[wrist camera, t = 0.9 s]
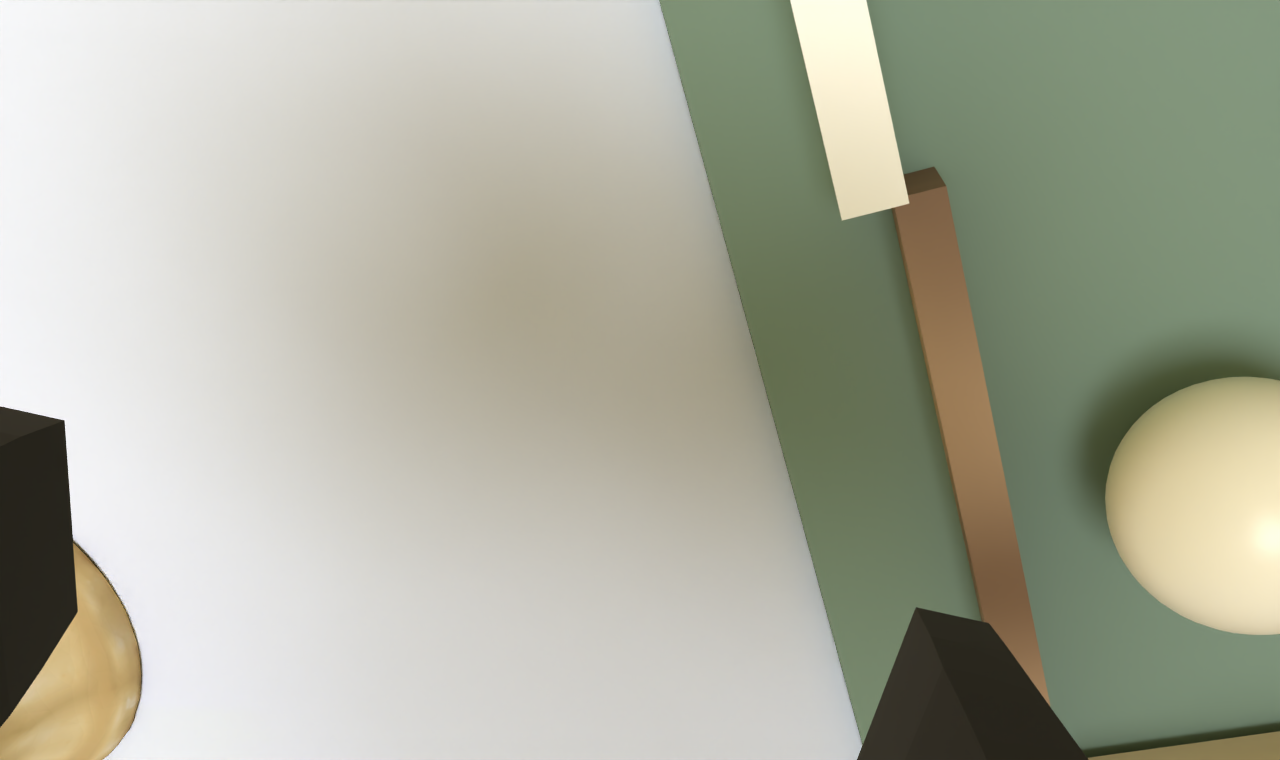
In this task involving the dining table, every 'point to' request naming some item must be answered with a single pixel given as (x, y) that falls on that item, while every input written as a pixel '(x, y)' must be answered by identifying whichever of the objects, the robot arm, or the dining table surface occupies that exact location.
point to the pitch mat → (1010, 313)
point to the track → (965, 414)
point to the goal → (851, 104)
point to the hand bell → (80, 682)
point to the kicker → (1211, 750)
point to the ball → (1204, 503)
